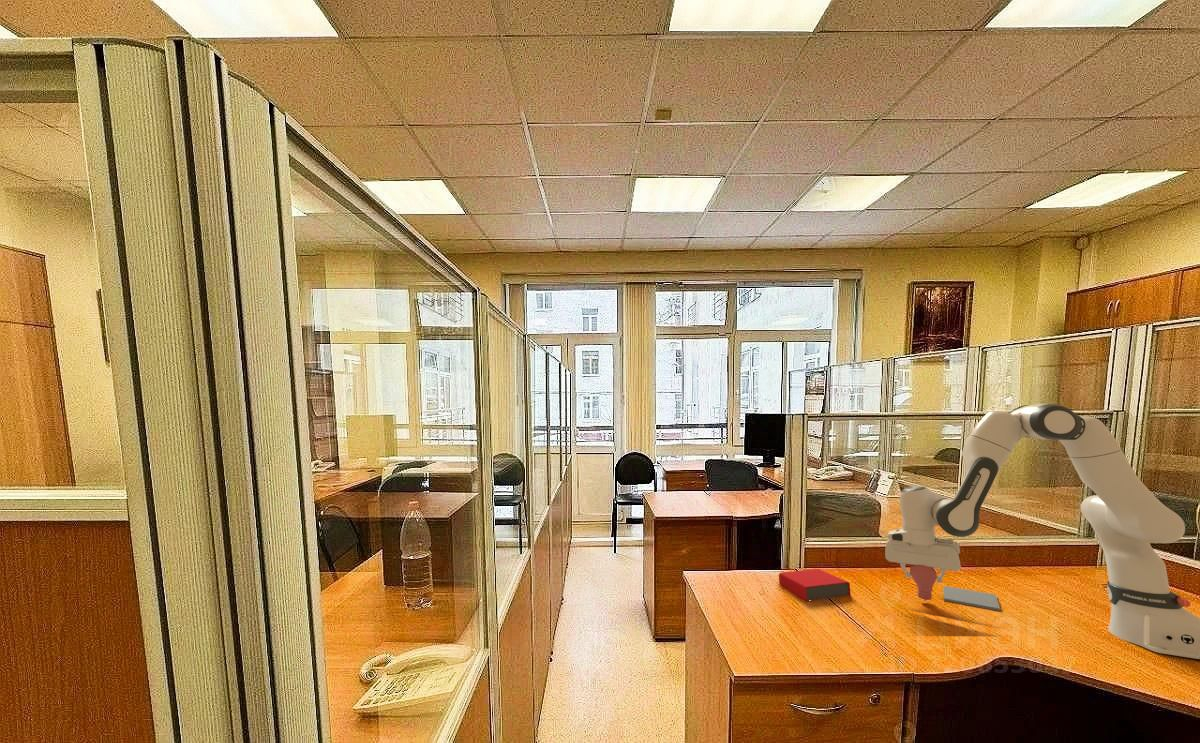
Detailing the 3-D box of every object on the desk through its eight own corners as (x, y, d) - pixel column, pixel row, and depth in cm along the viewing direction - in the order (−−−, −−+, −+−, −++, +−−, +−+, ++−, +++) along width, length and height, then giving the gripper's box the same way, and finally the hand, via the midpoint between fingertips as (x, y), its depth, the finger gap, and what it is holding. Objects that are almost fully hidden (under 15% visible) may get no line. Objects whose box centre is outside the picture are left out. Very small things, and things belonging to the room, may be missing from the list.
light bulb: (945, 604, 140) (940, 565, 142) (922, 604, 140) (918, 565, 142) (929, 595, 147) (925, 558, 149) (907, 596, 147) (903, 558, 149)
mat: (995, 597, 148) (995, 594, 148) (1000, 611, 137) (1000, 608, 137) (943, 587, 156) (943, 585, 157) (943, 600, 146) (943, 598, 146)
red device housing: (820, 582, 164) (819, 568, 165) (850, 596, 150) (849, 581, 151) (779, 587, 160) (778, 573, 160) (806, 602, 146) (805, 586, 147)
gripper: (958, 538, 142) (963, 583, 141) (884, 530, 155) (888, 571, 153) (959, 542, 138) (964, 589, 136) (882, 534, 150) (886, 576, 148)
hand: (923, 579), depth 145 cm, fingers closed on light bulb, 7 cm apart
